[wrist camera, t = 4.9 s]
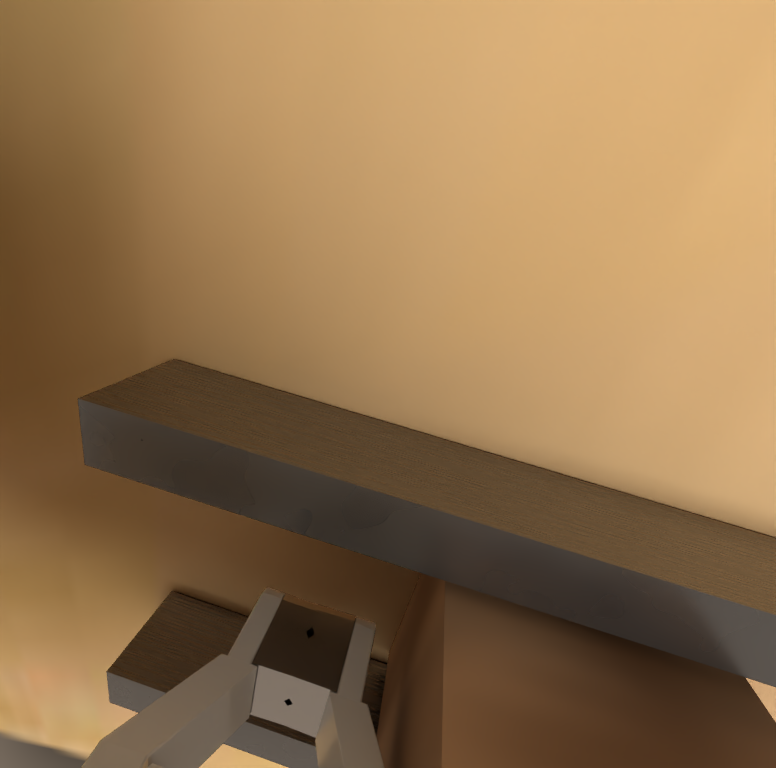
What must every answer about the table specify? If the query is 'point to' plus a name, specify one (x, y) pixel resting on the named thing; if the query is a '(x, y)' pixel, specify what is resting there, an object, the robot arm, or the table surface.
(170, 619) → the grey parallel rails
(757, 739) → the walnut block
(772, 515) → the table surface
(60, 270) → the table surface
